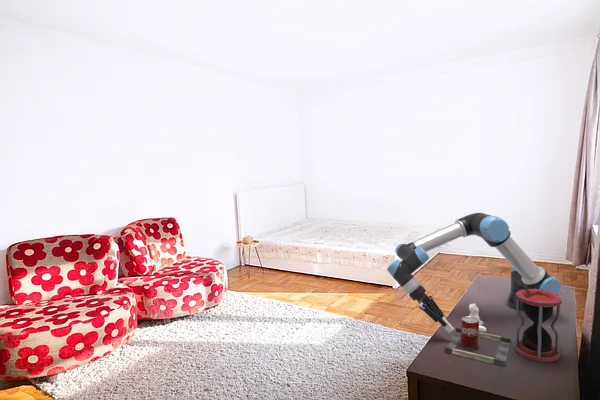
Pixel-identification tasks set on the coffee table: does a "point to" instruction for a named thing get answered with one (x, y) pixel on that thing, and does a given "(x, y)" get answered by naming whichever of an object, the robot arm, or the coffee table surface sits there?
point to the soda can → (469, 332)
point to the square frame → (499, 359)
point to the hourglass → (537, 325)
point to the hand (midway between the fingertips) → (451, 330)
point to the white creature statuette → (476, 316)
